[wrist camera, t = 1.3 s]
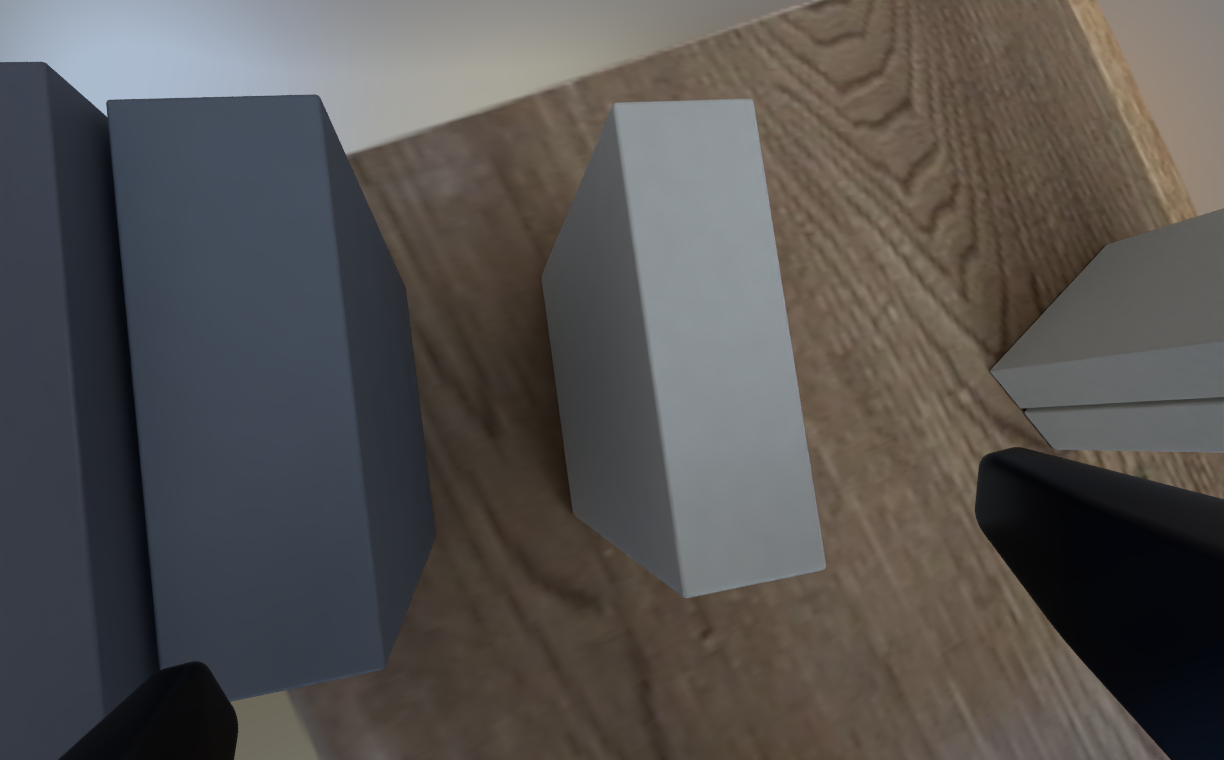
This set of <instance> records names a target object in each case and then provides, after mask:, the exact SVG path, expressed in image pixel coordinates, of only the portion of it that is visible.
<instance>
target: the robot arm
mask: <svg viewBox="0 0 1224 760" xmlns="http://www.w3.org/2000/svg"><path fill="white" fill-rule="evenodd" d="M975 514H976V519H977V522H978V524H979V526H980V528H981V530H982V531H983V533H984V534H985V536H986V537H987V538H988V540H989V541H990V542H991V544H992V545H993V546H994V548H995V549H996V550H997V552H998V553H999V554H1000V556H1001V557H1002V558H1003V560H1004V561H1005V563H1006V564H1007V565H1008V567H1009V568H1010V569H1011V571H1012V572H1013V573H1014V575H1015V576H1016V577H1017V579H1018V580H1019V581H1020V583H1021V584H1022V585H1023V587H1024V588H1025V589H1026V591H1027V592H1028V593H1029V595H1030V596H1031V597H1032V599H1033V600H1034V601H1035V603H1036V604H1037V605H1038V607H1039V608H1040V610H1041V611H1042V612H1043V614H1044V615H1045V616H1046V618H1047V619H1048V620H1049V622H1050V623H1051V624H1052V625H1053V627H1054V628H1055V629H1056V630H1057V632H1058V633H1059V634H1060V635H1061V637H1062V638H1063V639H1064V640H1065V642H1066V643H1067V644H1068V645H1069V646H1070V647H1071V649H1072V650H1073V651H1074V652H1075V653H1076V654H1077V656H1078V657H1079V658H1080V659H1081V660H1082V661H1083V662H1084V663H1085V665H1086V666H1087V667H1088V668H1089V669H1090V670H1091V671H1092V672H1093V673H1094V675H1095V676H1096V677H1097V678H1098V679H1099V680H1100V681H1101V682H1102V684H1103V685H1104V686H1105V687H1106V688H1107V689H1108V690H1109V691H1110V692H1111V694H1112V695H1113V696H1114V697H1115V698H1116V699H1117V700H1118V701H1119V702H1120V704H1121V705H1122V706H1123V707H1124V708H1125V709H1126V710H1127V711H1128V712H1129V714H1130V715H1131V716H1132V717H1133V718H1134V719H1135V720H1136V721H1137V723H1138V724H1139V725H1140V726H1141V727H1142V728H1143V729H1144V730H1145V731H1146V733H1147V734H1148V735H1149V736H1150V737H1151V738H1152V739H1153V740H1154V741H1155V743H1156V744H1157V745H1158V746H1159V747H1160V748H1161V749H1162V750H1163V751H1164V753H1165V754H1166V755H1167V756H1168V757H1169V758H1170V759H1171V760H1224V499H1220V498H1216V497H1212V496H1209V495H1205V494H1201V493H1197V492H1193V491H1189V490H1185V489H1181V488H1177V487H1173V486H1170V485H1166V484H1162V483H1158V482H1154V481H1150V480H1146V479H1142V478H1138V477H1135V476H1131V475H1127V474H1123V473H1119V472H1115V471H1111V470H1107V469H1103V468H1099V467H1096V466H1092V465H1088V464H1084V463H1080V462H1076V461H1072V460H1068V459H1064V458H1061V457H1057V456H1053V455H1049V454H1045V453H1041V452H1037V451H1033V450H1029V449H1025V448H1021V447H1013V448H1009V449H1005V450H1001V451H997V452H993V453H989V454H987V455H986V456H984V457H983V458H982V460H981V462H980V464H979V472H978V482H977V493H976V503H975ZM237 734H238V721H237V716H236V713H235V710H234V708H233V706H232V705H231V703H230V701H229V700H228V698H227V697H226V695H225V693H224V692H223V690H222V688H221V687H220V685H219V683H218V682H217V680H216V678H215V677H214V675H213V674H212V672H211V670H210V669H209V668H208V666H207V665H206V664H204V663H202V662H200V661H191V662H187V663H183V664H180V665H176V666H172V667H168V668H164V669H162V670H159V671H157V672H155V673H154V674H153V675H151V676H150V677H149V678H148V679H147V680H146V681H145V682H143V683H142V684H141V685H140V686H139V687H138V688H137V689H136V690H135V691H133V692H132V693H131V694H130V695H129V696H128V697H127V698H126V699H125V700H123V701H122V702H121V703H120V704H119V705H118V706H117V707H116V708H115V709H113V710H112V711H111V712H110V713H109V714H108V715H107V716H106V717H105V718H104V719H102V720H101V721H100V722H99V723H98V724H97V725H96V726H95V727H94V728H92V729H91V730H90V731H89V732H88V733H87V734H86V735H85V736H84V737H82V738H81V739H80V740H79V741H78V742H77V743H76V744H75V745H74V746H72V747H71V748H70V749H69V750H68V751H67V752H66V753H65V754H64V755H62V756H61V757H60V758H59V759H58V760H234V756H235V749H236V743H237V737H238V735H237Z"/></svg>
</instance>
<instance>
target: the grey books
mask: <svg viewBox="0 0 1224 760" xmlns="http://www.w3.org/2000/svg"><path fill="white" fill-rule="evenodd" d="M106 105H107V115H108V117H106V116H105V115H104V114H103V113H102V112H101V111H100V110H98V109H97V108H96V107H95V106H94V105H93V104H92V103H91V102H90V101H88V100H87V99H86V98H85V97H84V96H83V95H82V94H80V93H79V92H78V91H77V90H76V89H75V88H74V87H72V86H71V85H70V84H69V83H68V82H67V81H66V80H64V79H63V78H62V77H61V76H60V75H59V74H58V73H57V72H55V71H54V70H53V69H52V68H51V67H50V66H49V65H47V64H46V63H44V62H0V760H58V759H59V758H60V757H61V756H62V755H64V754H65V753H66V752H67V751H68V750H69V749H70V748H71V747H72V746H74V745H75V744H76V743H77V742H78V741H79V740H80V739H81V738H82V737H84V736H85V735H86V734H87V733H88V732H89V731H90V730H91V729H92V728H94V727H95V726H96V725H97V724H98V723H99V722H100V721H101V720H102V719H104V718H105V717H106V716H107V715H108V714H109V713H110V712H111V711H112V710H113V709H115V708H116V707H117V706H118V705H119V704H120V703H121V702H122V701H123V700H125V699H126V698H127V697H128V696H129V695H130V694H131V693H132V692H133V691H135V690H136V689H137V688H138V687H139V686H140V685H141V684H142V683H143V682H145V681H146V680H147V679H148V678H149V677H150V676H151V675H153V674H154V673H155V672H157V671H159V670H162V669H164V668H168V667H172V666H176V665H180V664H183V663H187V662H191V661H200V662H202V663H204V664H206V665H207V666H208V668H209V669H210V670H211V672H212V674H213V675H214V677H215V678H216V680H217V682H218V683H219V685H220V687H221V688H222V690H223V692H224V693H225V695H226V697H227V698H228V700H229V701H230V702H231V701H236V700H240V699H245V698H250V697H255V696H260V695H264V694H269V693H274V692H279V691H284V690H288V689H293V688H298V687H303V686H308V685H312V684H317V683H322V682H327V681H332V680H336V679H341V678H346V677H351V676H356V675H360V674H365V673H370V672H375V671H380V670H382V669H384V668H385V666H386V664H387V661H388V658H389V656H390V653H391V651H392V648H393V646H394V643H395V640H396V638H397V635H398V633H399V630H400V627H401V625H402V622H403V620H404V617H405V615H406V612H407V609H408V607H409V604H410V602H411V599H412V596H413V594H414V591H415V589H416V586H417V584H418V581H419V578H420V576H421V573H422V571H423V568H424V565H425V563H426V560H427V558H428V555H429V553H430V550H431V547H432V545H433V542H434V540H435V537H436V536H435V528H434V520H433V511H432V503H431V495H430V487H429V478H428V470H427V462H426V453H425V445H424V437H423V429H422V420H421V412H420V404H419V396H418V387H417V379H416V371H415V363H414V354H413V346H412V338H411V329H410V321H409V313H408V305H407V296H406V288H405V286H404V284H403V282H402V279H401V277H400V275H399V273H398V270H397V268H396V266H395V264H394V261H393V259H392V257H391V255H390V252H389V250H388V248H387V246H386V244H385V241H384V239H383V237H382V235H381V232H380V230H379V228H378V226H377V223H376V221H375V219H374V217H373V215H372V212H371V210H370V208H369V206H368V203H367V201H366V199H365V197H364V194H363V192H362V190H361V188H360V185H359V183H358V181H357V179H356V177H355V174H354V172H353V170H352V168H351V165H350V163H349V161H348V159H347V156H346V154H345V152H344V150H343V148H342V145H341V143H340V141H339V139H338V136H337V134H336V132H335V130H334V127H333V125H332V123H331V121H330V119H329V116H328V114H327V112H326V110H325V107H324V105H323V103H322V101H321V99H320V97H319V96H318V95H283V96H282V95H281V96H243V97H203V98H164V99H125V100H108V101H107V103H106Z"/></svg>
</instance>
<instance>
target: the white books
mask: <svg viewBox="0 0 1224 760" xmlns="http://www.w3.org/2000/svg"><path fill="white" fill-rule="evenodd" d="M990 372H991V373H992V374H993V376H994V377H995V378H996V379H997V381H998V382H999V383H1000V384H1001V385H1002V387H1003V388H1004V389H1005V390H1006V392H1007V393H1008V394H1009V395H1010V397H1011V398H1012V399H1013V400H1014V401H1015V403H1016V404H1017V405H1018V406H1019V408H1027V410H1026V411H1025V412H1024V413H1025V415H1026V416H1027V417H1028V418H1029V420H1030V421H1031V422H1032V423H1033V424H1034V426H1035V427H1036V428H1037V429H1038V431H1039V432H1040V433H1041V434H1042V435H1043V437H1044V438H1045V439H1046V440H1047V442H1048V443H1049V444H1050V445H1051V446H1052V448H1053V449H1057V450H1115V451H1174V452H1224V209H1220V210H1217V211H1214V212H1211V213H1207V214H1204V215H1201V216H1198V217H1194V218H1191V219H1188V220H1185V221H1181V222H1178V223H1175V224H1172V225H1168V226H1165V227H1162V228H1159V229H1155V230H1152V231H1149V232H1146V233H1142V234H1139V235H1136V236H1133V237H1129V238H1126V239H1123V240H1120V241H1116V242H1113V243H1110V244H1107V245H1106V246H1105V247H1104V248H1103V249H1102V250H1101V251H1100V252H1099V253H1098V255H1097V256H1096V257H1095V258H1094V259H1093V260H1092V261H1091V262H1090V263H1089V264H1088V265H1087V266H1086V267H1085V269H1084V270H1083V271H1082V272H1081V273H1080V274H1079V275H1078V276H1077V277H1076V278H1075V279H1074V280H1073V282H1072V283H1071V284H1070V285H1069V286H1068V287H1067V288H1066V289H1065V290H1064V291H1063V292H1062V293H1061V294H1060V296H1059V297H1058V298H1057V299H1056V300H1055V301H1054V302H1053V303H1052V304H1051V305H1050V306H1049V307H1048V309H1047V310H1046V311H1045V312H1044V313H1043V314H1042V315H1041V316H1040V317H1039V318H1038V319H1037V320H1036V321H1035V323H1034V324H1033V325H1032V326H1031V327H1030V328H1029V329H1028V330H1027V331H1026V332H1025V333H1024V334H1023V335H1022V337H1021V338H1020V339H1019V340H1018V341H1017V342H1016V343H1015V344H1014V345H1013V346H1012V347H1011V348H1010V350H1009V351H1008V352H1007V353H1006V354H1005V355H1004V356H1003V357H1002V358H1001V359H1000V360H999V361H998V362H997V364H996V365H995V366H994V367H993V368H992V369H991V370H990Z"/></svg>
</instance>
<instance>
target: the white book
mask: <svg viewBox="0 0 1224 760" xmlns="http://www.w3.org/2000/svg"><path fill="white" fill-rule="evenodd" d="M541 279H542V286H543V294H544V301H545V309H546V316H547V324H548V331H549V339H550V346H551V354H552V361H553V369H554V376H555V384H556V391H557V398H558V406H559V413H560V421H561V428H562V436H563V443H564V451H565V458H566V466H567V473H568V481H569V488H570V495H571V503H572V510H573V514H574V515H575V516H576V517H577V518H579V519H580V520H581V521H583V522H584V523H585V524H587V525H588V526H589V527H591V528H592V529H593V530H595V531H596V532H597V533H599V534H600V535H601V536H603V537H604V538H605V539H607V540H608V541H609V542H611V543H612V544H613V545H615V546H616V547H617V548H619V549H620V550H621V551H623V552H624V553H625V554H627V555H628V556H629V557H631V558H632V559H633V560H635V561H636V562H637V563H639V564H640V565H641V566H643V567H644V568H645V569H647V570H648V571H649V572H651V573H652V574H653V575H655V576H656V577H657V578H659V579H660V580H661V581H663V582H664V583H665V584H667V585H668V586H669V587H670V588H672V589H673V590H674V591H676V592H677V593H678V594H680V595H681V596H682V597H684V598H691V597H695V596H700V595H705V594H710V593H715V592H720V591H725V590H730V589H734V588H739V587H744V586H749V585H754V584H759V583H764V582H768V581H773V580H778V579H783V578H788V577H793V576H798V575H803V574H807V573H812V572H817V571H822V570H824V569H826V562H825V556H824V549H823V543H822V536H821V530H820V524H819V517H818V511H817V505H816V498H815V492H814V485H813V479H812V473H811V466H810V460H809V453H808V447H807V441H806V434H805V428H804V422H803V415H802V409H801V402H800V396H799V390H798V383H797V377H796V371H795V364H794V358H793V351H792V345H791V339H790V332H789V326H788V319H787V313H786V307H785V300H784V294H783V288H782V281H781V275H780V268H779V262H778V256H777V249H776V243H775V236H774V230H773V224H772V217H771V211H770V205H769V198H768V192H767V185H766V179H765V173H764V166H763V160H762V153H761V147H760V141H759V134H758V128H757V122H756V115H755V109H754V102H753V100H752V99H721V100H689V101H656V102H624V103H615V104H613V106H612V108H611V111H610V113H609V116H608V118H607V120H606V123H605V125H604V128H603V130H602V132H601V135H600V137H599V140H598V142H597V144H596V147H595V149H594V152H593V154H592V156H591V159H590V161H589V164H588V166H587V168H586V171H585V173H584V175H583V178H582V180H581V183H580V185H579V187H578V190H577V192H576V195H575V197H574V199H573V202H572V204H571V207H570V209H569V211H568V214H567V216H566V219H565V221H564V223H563V226H562V228H561V231H560V233H559V235H558V238H557V240H556V243H555V245H554V247H553V250H552V252H551V255H550V257H549V259H548V262H547V264H546V266H545V269H544V271H543V274H542V276H541Z"/></svg>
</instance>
